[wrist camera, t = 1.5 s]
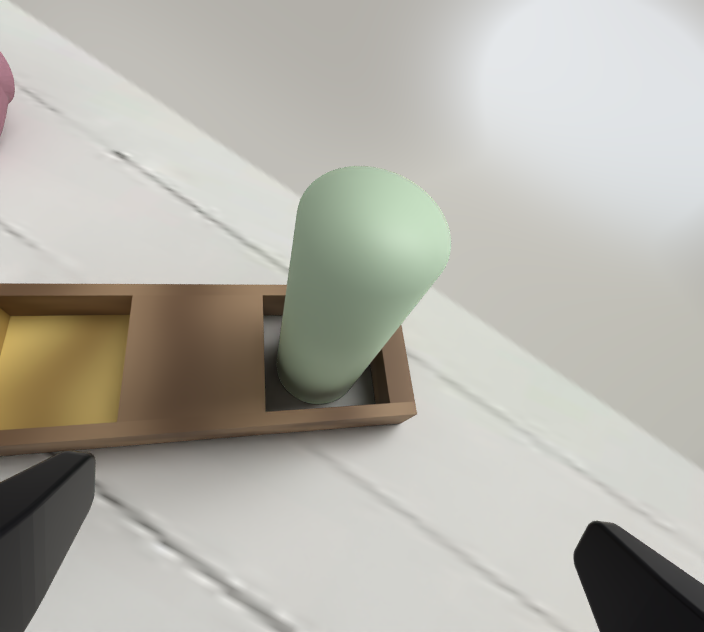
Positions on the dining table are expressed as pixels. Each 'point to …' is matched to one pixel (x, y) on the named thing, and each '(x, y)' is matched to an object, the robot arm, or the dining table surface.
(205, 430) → the wooden compartment tray
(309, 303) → the peg
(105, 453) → the dining table surface
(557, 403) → the dining table surface
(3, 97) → the video game controller
